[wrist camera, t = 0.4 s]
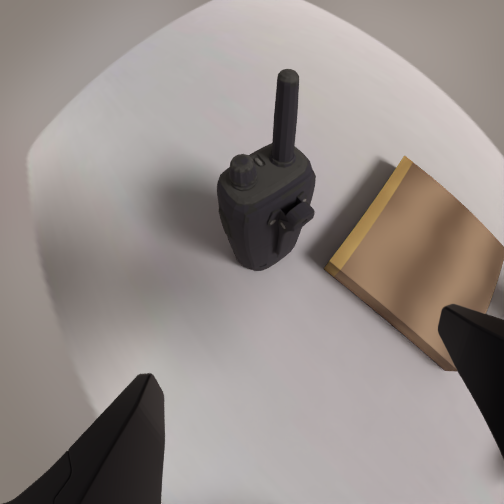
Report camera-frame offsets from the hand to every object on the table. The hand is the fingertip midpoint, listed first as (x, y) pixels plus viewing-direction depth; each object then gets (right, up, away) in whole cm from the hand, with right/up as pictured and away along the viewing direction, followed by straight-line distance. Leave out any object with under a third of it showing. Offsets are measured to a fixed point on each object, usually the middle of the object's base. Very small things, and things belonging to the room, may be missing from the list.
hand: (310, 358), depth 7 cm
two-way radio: (0, +3, +15) cm, 15 cm away
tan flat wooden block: (+13, +2, +14) cm, 19 cm away
